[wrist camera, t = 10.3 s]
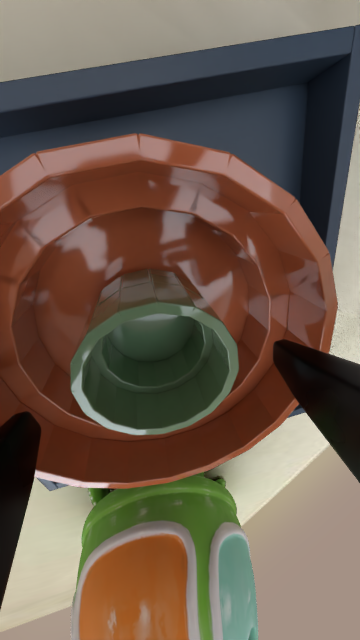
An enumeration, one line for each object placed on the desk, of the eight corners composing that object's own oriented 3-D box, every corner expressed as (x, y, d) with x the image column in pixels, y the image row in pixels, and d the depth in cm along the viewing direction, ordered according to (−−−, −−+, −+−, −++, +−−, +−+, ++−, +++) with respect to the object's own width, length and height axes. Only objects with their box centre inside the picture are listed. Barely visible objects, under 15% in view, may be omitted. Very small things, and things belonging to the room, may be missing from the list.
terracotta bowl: (268, 139, 10) (380, 86, 5) (265, 375, 16) (314, 437, 12) (-73, 206, 8) (-287, 210, 4) (76, 430, 15) (54, 520, 11)
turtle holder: (156, 547, 27) (172, 767, 16) (53, 487, 18) (-58, 891, 7) (249, 504, 26) (327, 702, 16) (193, 420, 17) (286, 749, 7)
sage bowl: (196, 253, 11) (233, 282, 7) (210, 351, 14) (242, 410, 10) (71, 283, 10) (34, 332, 6) (114, 377, 13) (106, 451, 9)
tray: (318, 62, 9) (373, 21, 7) (290, 387, 18) (310, 411, 16) (-188, 150, 7) (-308, 130, 5) (59, 456, 16) (49, 491, 14)
